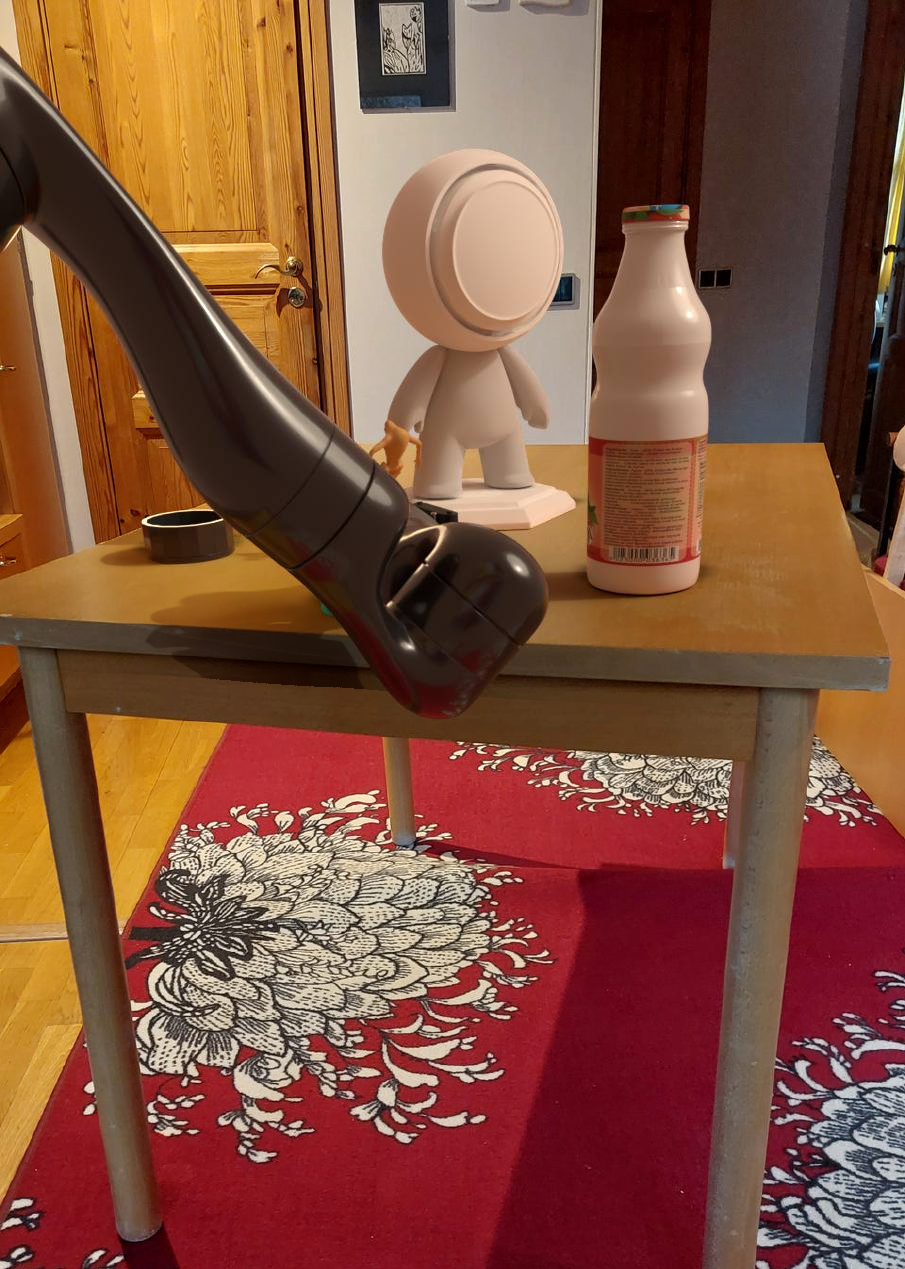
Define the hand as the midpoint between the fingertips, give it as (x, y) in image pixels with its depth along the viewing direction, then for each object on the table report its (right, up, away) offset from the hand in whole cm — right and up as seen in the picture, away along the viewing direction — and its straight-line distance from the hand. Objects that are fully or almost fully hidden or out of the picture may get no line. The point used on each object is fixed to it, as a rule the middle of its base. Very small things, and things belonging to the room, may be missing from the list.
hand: (345, 514), depth 89 cm
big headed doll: (+11, +9, +35) cm, 38 cm away
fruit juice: (+25, -5, +4) cm, 25 cm away
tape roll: (-18, +2, +21) cm, 28 cm away
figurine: (+2, +2, +21) cm, 21 cm away
